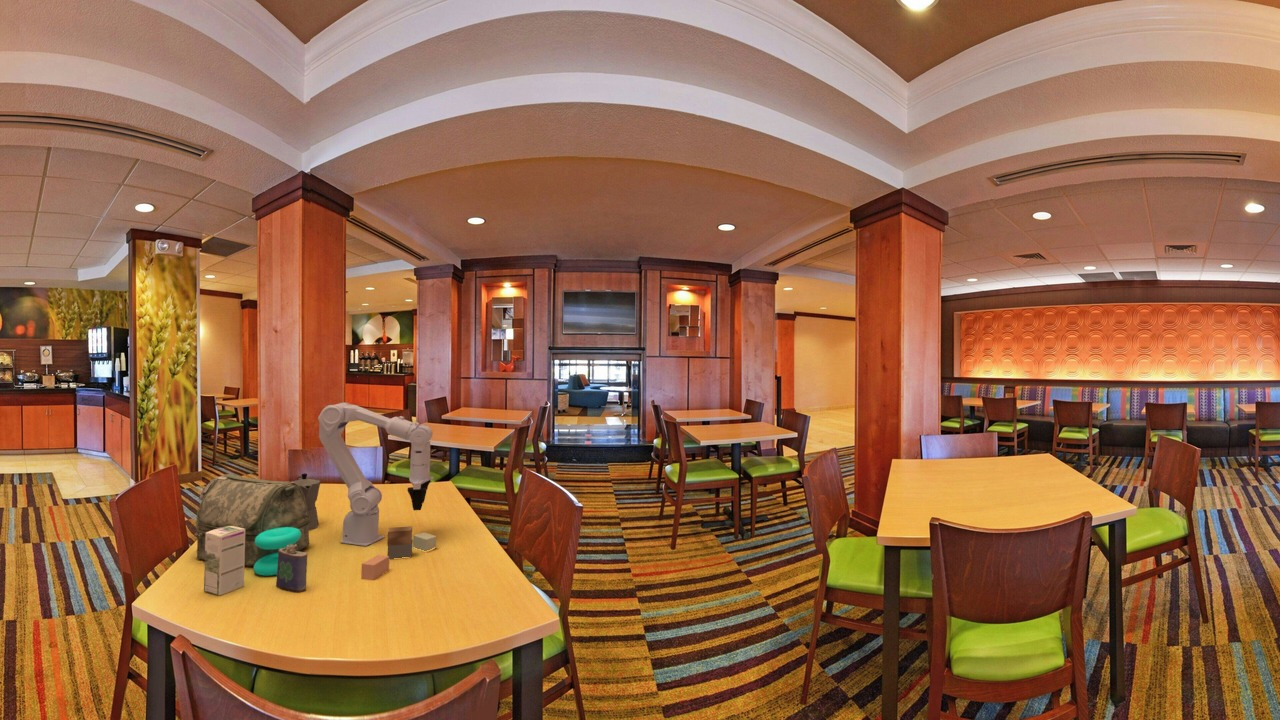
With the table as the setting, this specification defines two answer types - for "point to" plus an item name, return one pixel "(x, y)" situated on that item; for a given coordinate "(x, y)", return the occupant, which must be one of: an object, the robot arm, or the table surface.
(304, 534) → the lunch bag
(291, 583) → the flask
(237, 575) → the syrup box
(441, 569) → the table surface
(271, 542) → the donuts
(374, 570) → the terracotta block
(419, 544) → the sage block
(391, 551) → the charcoal block
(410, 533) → the walnut block
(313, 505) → the coffeepot
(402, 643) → the table surface
